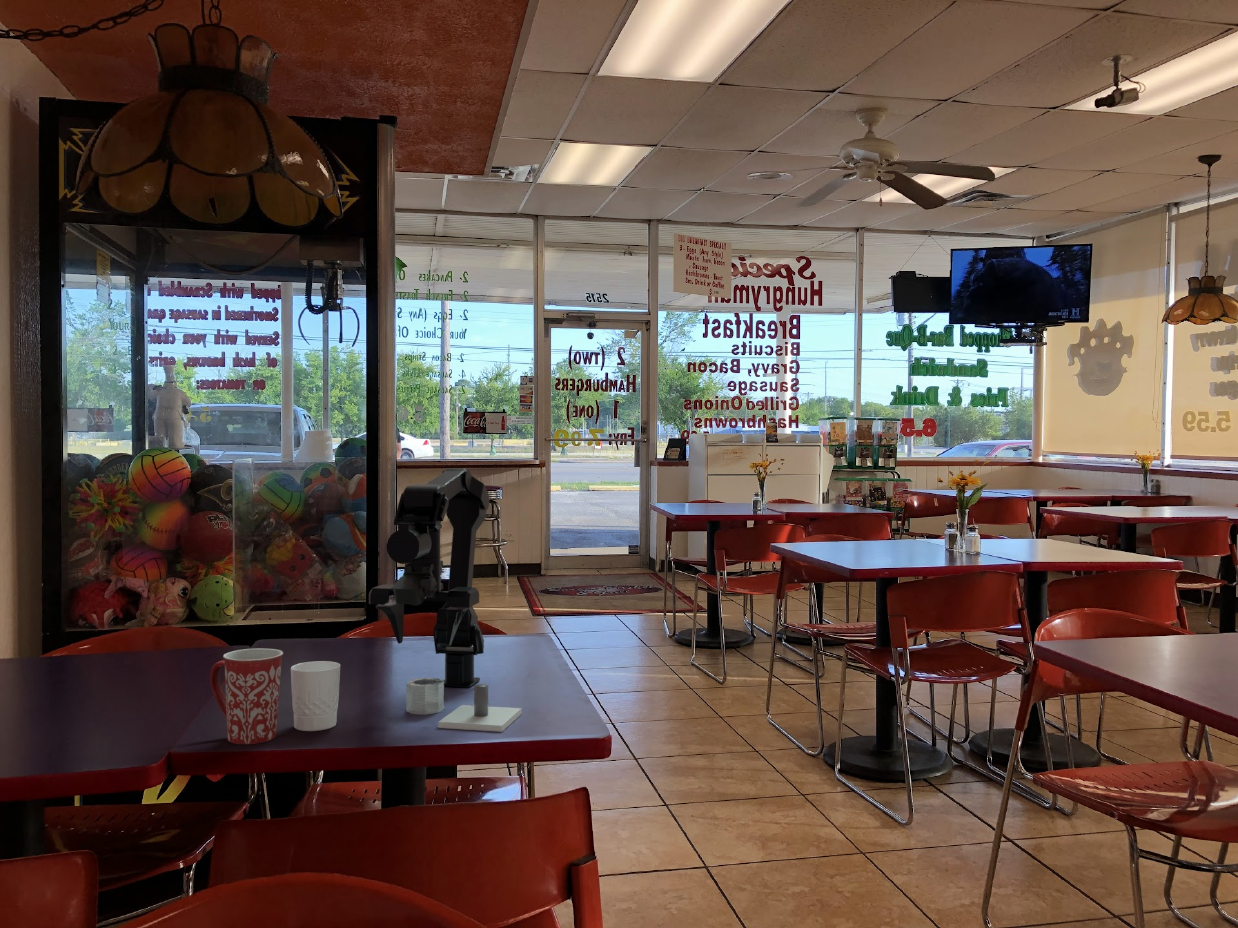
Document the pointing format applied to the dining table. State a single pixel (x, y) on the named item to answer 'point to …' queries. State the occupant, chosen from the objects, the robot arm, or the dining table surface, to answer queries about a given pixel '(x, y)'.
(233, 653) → the mug
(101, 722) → the dining table surface
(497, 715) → the post fixture
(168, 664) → the dining table surface
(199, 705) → the dining table surface
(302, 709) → the white cup
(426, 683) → the grey hollow octagonal cylinder
